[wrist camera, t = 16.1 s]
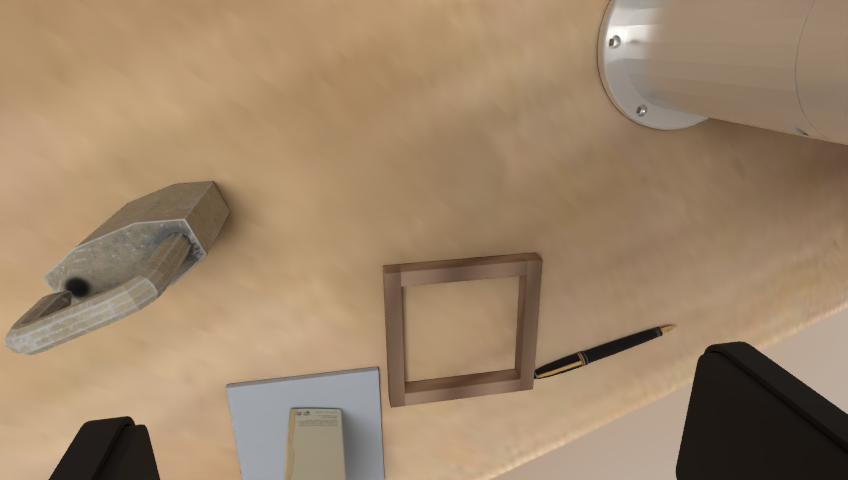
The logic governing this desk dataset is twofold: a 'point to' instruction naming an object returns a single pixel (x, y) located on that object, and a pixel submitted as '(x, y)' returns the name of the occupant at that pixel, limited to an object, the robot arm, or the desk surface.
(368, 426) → the rubber mat
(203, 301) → the desk surface
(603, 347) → the fountain pen
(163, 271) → the padlock
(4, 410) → the desk surface
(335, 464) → the skincare box
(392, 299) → the collar
